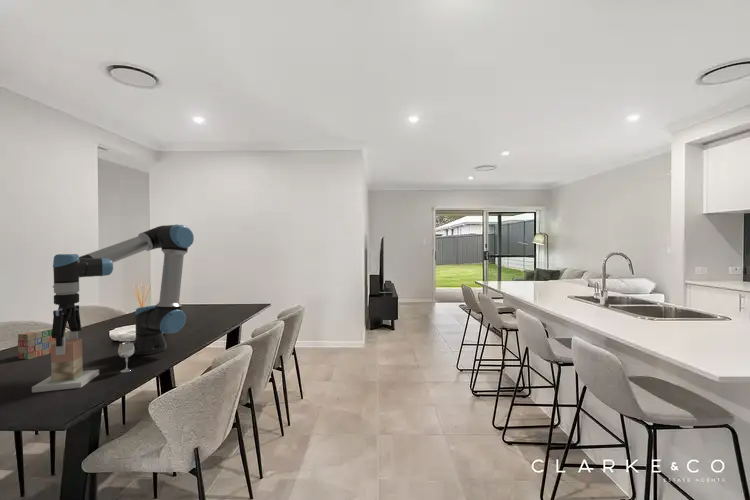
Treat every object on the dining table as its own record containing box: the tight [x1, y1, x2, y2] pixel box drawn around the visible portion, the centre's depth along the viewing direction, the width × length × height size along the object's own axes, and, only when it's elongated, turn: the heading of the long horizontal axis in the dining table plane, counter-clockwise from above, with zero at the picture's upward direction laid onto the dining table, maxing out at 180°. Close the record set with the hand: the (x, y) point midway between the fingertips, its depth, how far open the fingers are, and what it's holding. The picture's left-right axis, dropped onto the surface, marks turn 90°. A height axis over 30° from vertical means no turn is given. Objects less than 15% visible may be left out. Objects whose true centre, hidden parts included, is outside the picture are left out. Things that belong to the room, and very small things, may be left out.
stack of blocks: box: [17, 327, 72, 360], centre depth 181 cm, size 21×6×12 cm, turn 168°
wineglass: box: [117, 340, 135, 373], centre depth 153 cm, size 6×6×12 cm
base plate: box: [31, 369, 100, 393], centre depth 139 cm, size 15×15×2 cm
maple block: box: [50, 355, 84, 381], centre depth 139 cm, size 7×7×7 cm
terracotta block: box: [50, 338, 83, 364], centre depth 139 cm, size 7×7×7 cm
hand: (67, 351), depth 139 cm, fingers open, 9 cm apart
